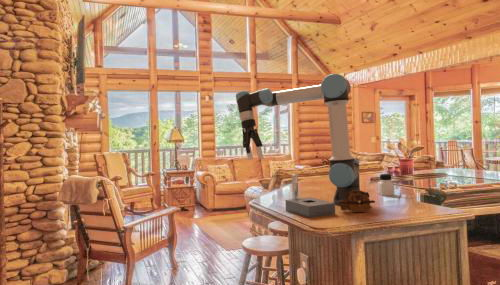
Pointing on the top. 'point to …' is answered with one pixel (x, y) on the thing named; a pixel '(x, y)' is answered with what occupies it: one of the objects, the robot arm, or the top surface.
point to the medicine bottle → (385, 185)
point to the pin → (295, 186)
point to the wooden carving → (356, 201)
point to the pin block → (310, 207)
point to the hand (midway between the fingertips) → (256, 159)
